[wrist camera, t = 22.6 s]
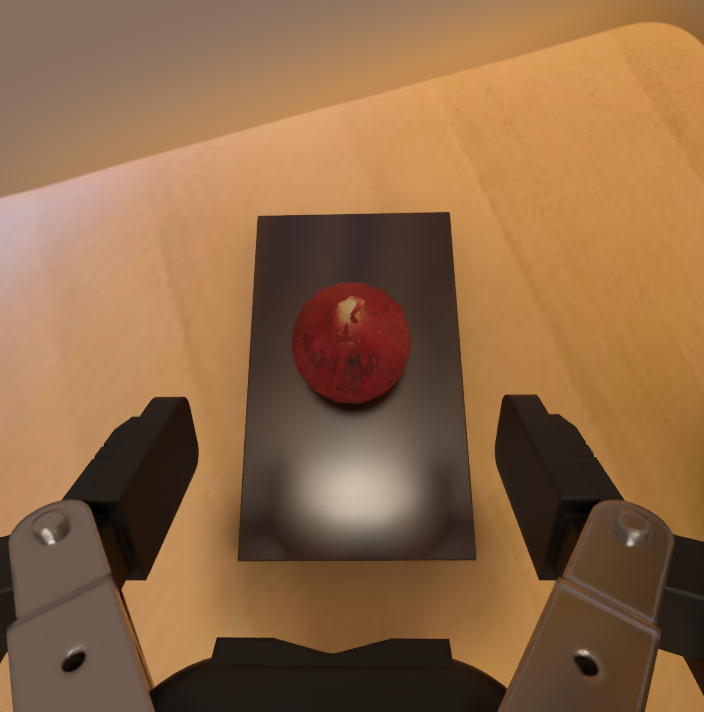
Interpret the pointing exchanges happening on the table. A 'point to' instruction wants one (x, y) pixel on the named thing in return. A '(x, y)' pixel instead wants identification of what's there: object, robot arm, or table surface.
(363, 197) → the table surface
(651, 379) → the table surface
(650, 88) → the table surface
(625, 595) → the robot arm
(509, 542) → the table surface
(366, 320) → the onion
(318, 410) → the walnut board
